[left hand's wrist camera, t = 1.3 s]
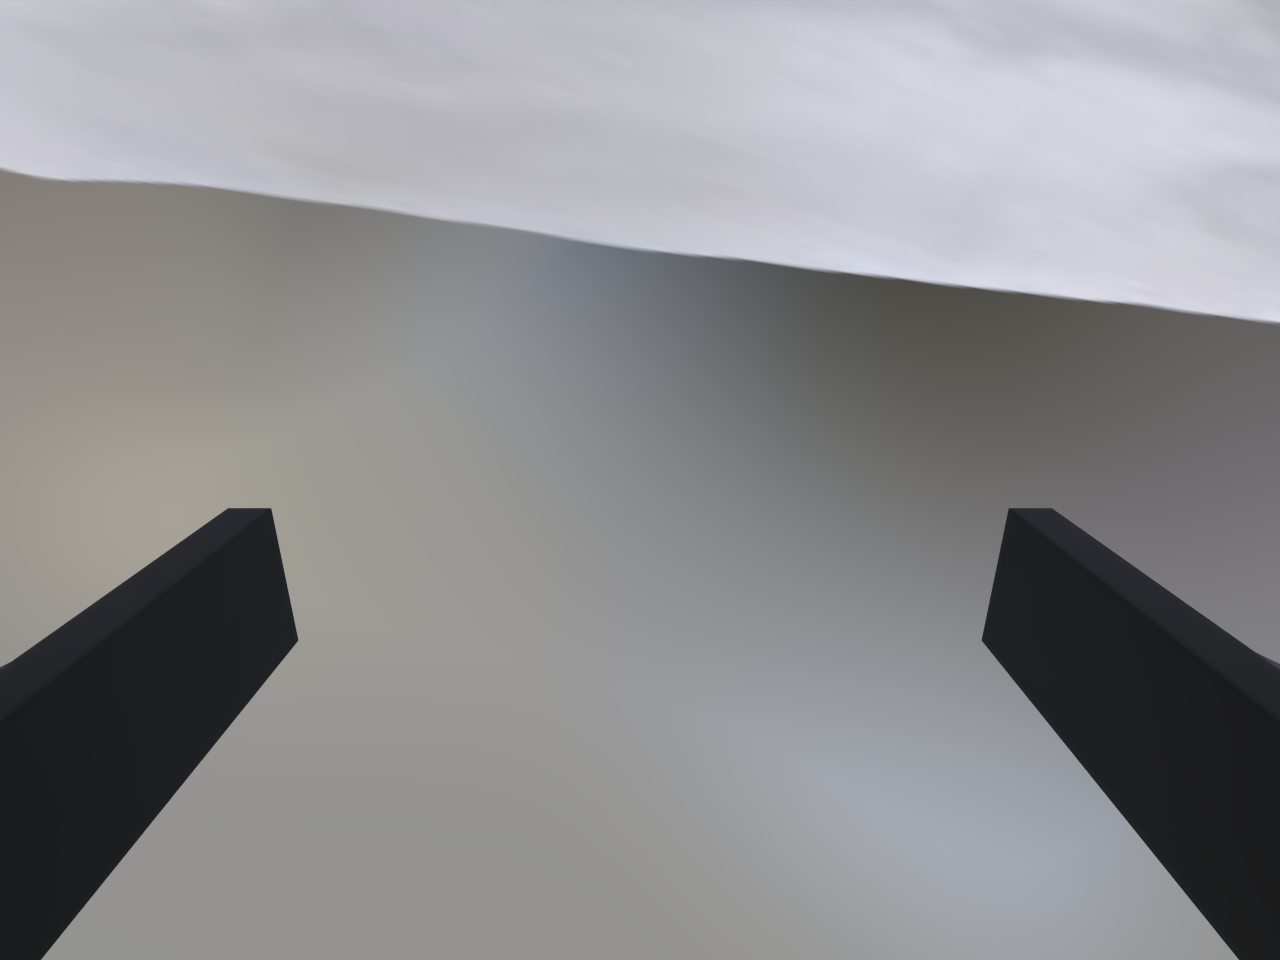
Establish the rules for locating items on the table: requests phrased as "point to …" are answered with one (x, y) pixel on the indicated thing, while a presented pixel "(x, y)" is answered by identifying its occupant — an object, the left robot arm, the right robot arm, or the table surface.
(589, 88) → the table surface
